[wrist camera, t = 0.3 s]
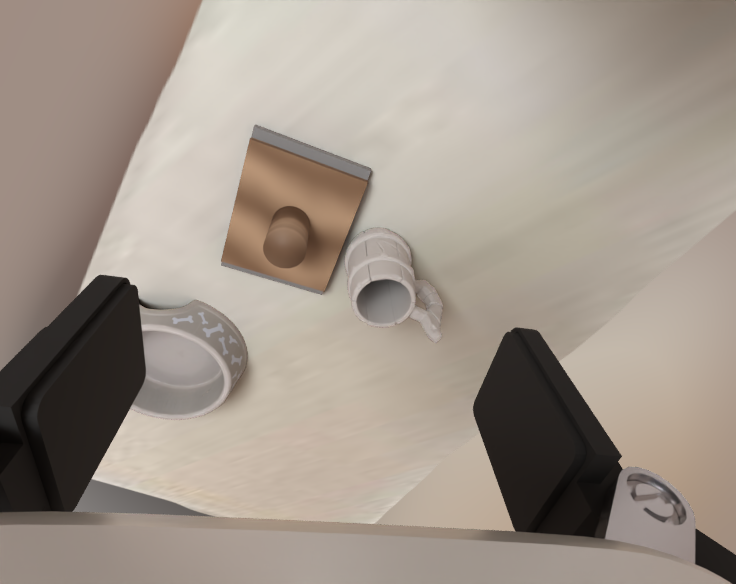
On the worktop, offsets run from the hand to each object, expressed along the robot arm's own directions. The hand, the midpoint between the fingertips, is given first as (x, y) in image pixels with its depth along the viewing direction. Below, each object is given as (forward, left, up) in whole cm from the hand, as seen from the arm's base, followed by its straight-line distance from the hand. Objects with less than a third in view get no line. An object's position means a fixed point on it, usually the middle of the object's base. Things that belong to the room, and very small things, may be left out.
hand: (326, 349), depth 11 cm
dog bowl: (+36, -10, -36) cm, 52 cm away
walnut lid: (+12, -1, -34) cm, 36 cm away
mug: (+14, +12, -35) cm, 40 cm away
